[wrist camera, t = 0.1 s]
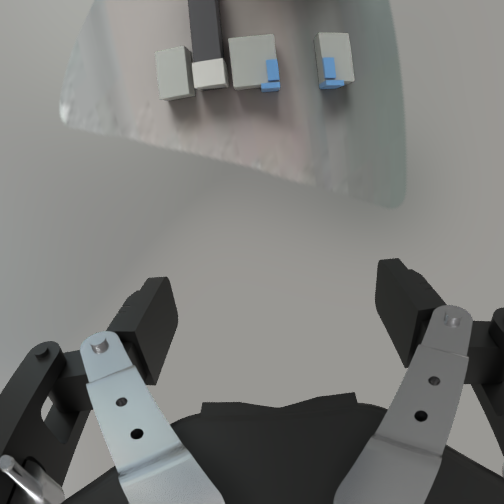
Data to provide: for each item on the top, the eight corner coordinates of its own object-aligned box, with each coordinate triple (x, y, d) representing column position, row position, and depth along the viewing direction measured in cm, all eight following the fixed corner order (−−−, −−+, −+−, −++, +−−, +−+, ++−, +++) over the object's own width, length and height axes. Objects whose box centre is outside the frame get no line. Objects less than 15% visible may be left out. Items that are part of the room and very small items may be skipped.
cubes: (163, 57, 33) (152, 50, 29) (341, 39, 31) (350, 31, 27) (168, 105, 36) (157, 104, 32) (347, 88, 34) (357, 85, 30)
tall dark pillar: (191, -12, 29) (184, -24, 25) (218, -17, 29) (213, -30, 25) (201, 91, 35) (194, 87, 31) (229, 87, 35) (225, 83, 31)
